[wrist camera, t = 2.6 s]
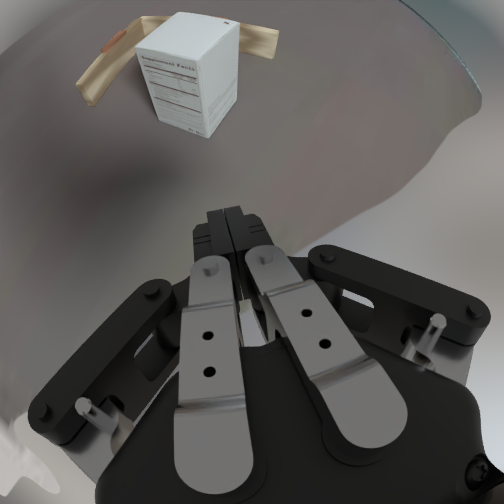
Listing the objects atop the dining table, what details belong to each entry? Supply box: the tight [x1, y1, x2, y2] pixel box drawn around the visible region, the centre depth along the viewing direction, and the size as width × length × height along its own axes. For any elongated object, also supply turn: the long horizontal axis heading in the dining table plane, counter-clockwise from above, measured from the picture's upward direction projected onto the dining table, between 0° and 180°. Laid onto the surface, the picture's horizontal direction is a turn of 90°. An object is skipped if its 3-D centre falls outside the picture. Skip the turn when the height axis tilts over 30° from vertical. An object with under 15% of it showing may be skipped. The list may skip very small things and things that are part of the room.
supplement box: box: [134, 12, 240, 139], centre depth 25 cm, size 7×7×13 cm
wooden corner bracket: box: [76, 16, 279, 106], centre depth 29 cm, size 23×17×6 cm
